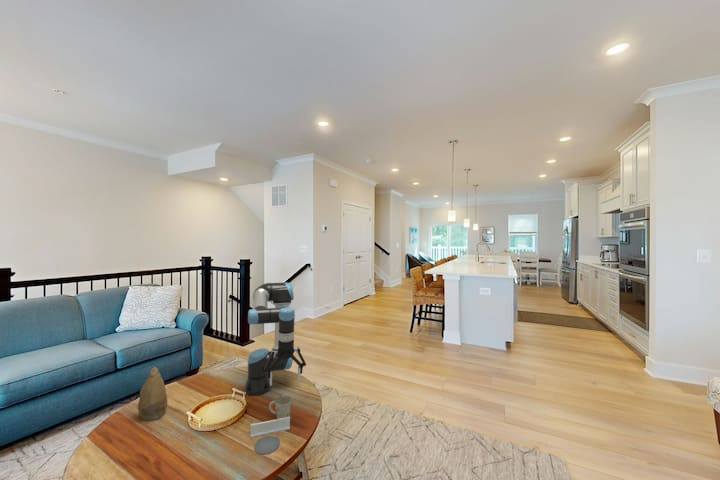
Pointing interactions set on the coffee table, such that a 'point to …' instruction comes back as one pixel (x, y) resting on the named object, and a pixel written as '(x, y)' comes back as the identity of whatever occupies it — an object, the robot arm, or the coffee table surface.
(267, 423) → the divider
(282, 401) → the mug
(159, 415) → the sculpture
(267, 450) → the coaster
